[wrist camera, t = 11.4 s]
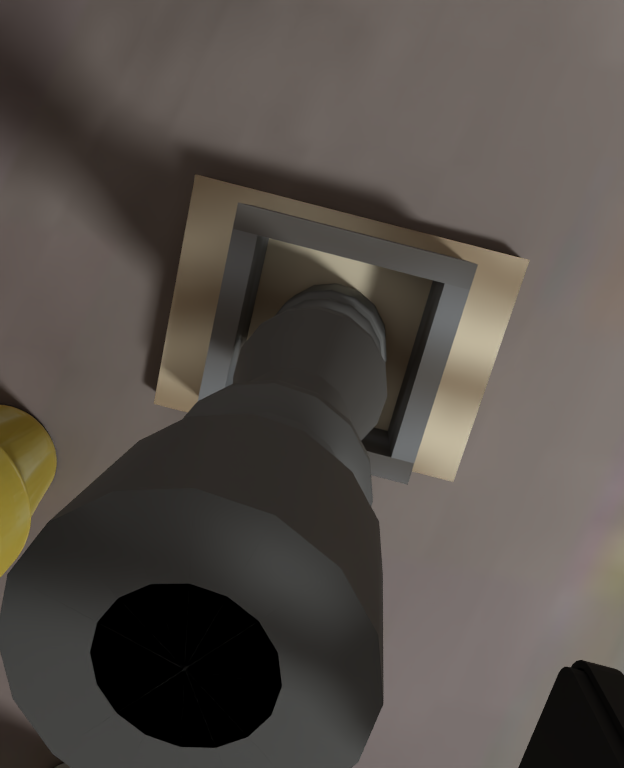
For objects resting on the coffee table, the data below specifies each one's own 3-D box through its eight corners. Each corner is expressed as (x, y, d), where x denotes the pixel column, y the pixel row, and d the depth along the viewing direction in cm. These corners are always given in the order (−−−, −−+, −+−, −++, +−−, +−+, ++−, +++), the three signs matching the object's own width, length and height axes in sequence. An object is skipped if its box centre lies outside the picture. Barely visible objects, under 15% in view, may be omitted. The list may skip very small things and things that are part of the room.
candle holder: (255, 359, 33) (-73, 713, 9) (307, 261, 31) (70, 381, 7) (351, 413, 33) (274, 896, 9) (407, 318, 32) (494, 615, 8)
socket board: (449, 471, 36) (465, 514, 30) (162, 396, 36) (127, 426, 30) (521, 258, 32) (554, 265, 27) (202, 176, 32) (171, 166, 27)
